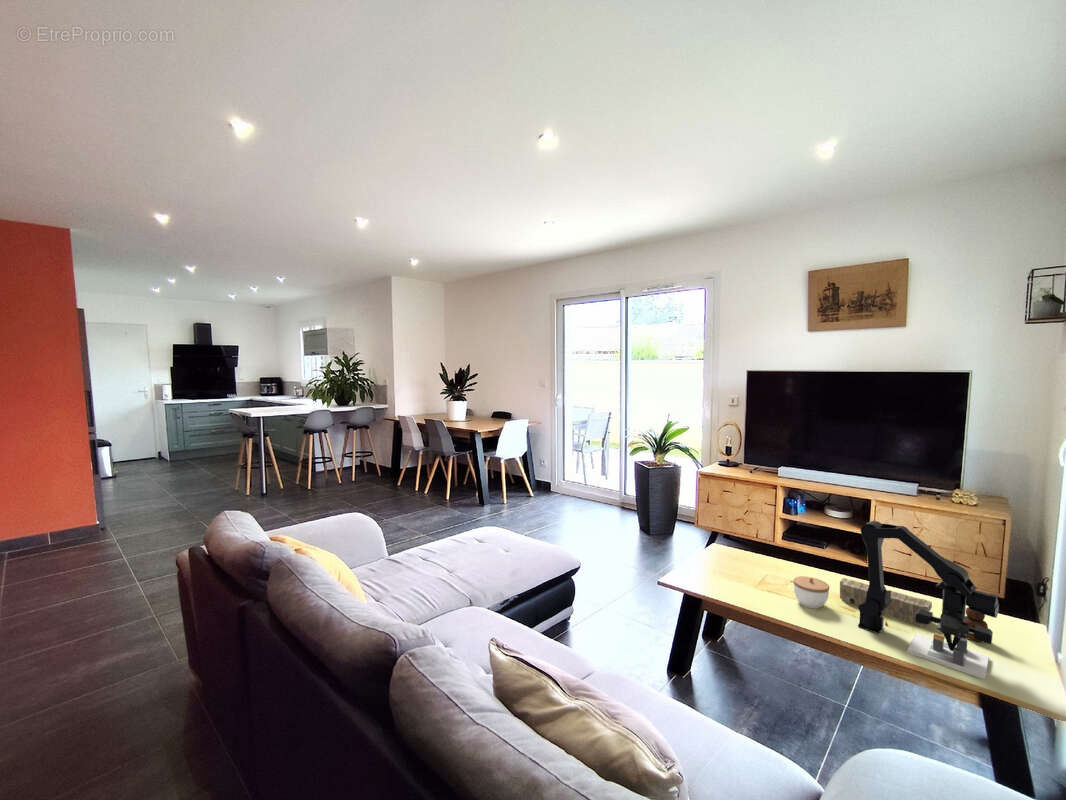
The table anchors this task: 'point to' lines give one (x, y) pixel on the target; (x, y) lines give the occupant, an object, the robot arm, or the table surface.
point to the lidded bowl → (811, 591)
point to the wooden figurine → (974, 621)
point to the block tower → (898, 608)
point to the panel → (951, 655)
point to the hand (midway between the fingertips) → (951, 650)
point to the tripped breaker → (938, 642)
